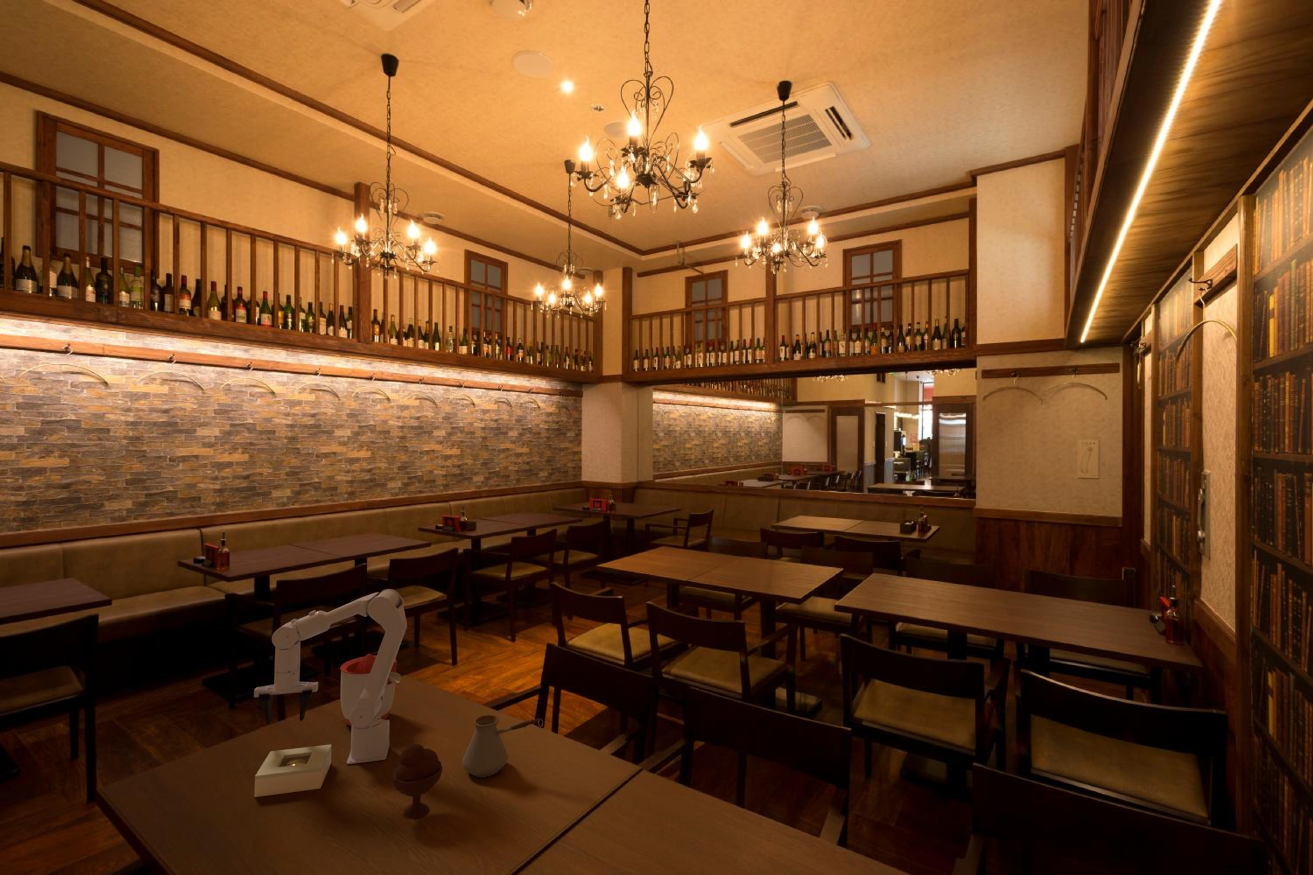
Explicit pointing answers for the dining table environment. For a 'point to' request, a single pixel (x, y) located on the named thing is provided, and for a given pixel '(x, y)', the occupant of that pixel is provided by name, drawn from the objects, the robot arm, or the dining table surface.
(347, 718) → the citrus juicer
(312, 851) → the dining table surface
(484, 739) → the coffee pot
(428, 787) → the ice cream bowl
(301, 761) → the gold rounded piece
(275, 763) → the beige square holder
